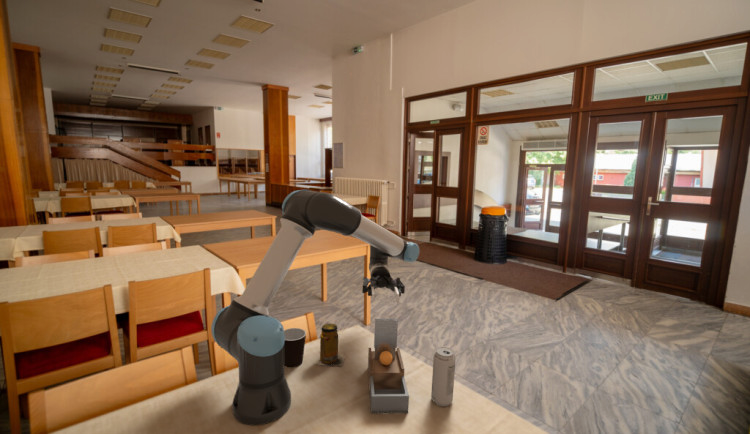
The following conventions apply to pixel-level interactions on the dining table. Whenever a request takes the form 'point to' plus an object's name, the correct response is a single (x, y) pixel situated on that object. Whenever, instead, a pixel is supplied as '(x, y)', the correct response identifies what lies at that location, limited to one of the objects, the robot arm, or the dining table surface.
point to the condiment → (330, 347)
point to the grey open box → (389, 399)
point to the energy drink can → (443, 376)
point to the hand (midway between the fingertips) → (385, 297)
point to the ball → (385, 358)
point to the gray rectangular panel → (385, 336)
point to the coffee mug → (294, 347)
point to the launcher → (385, 371)
